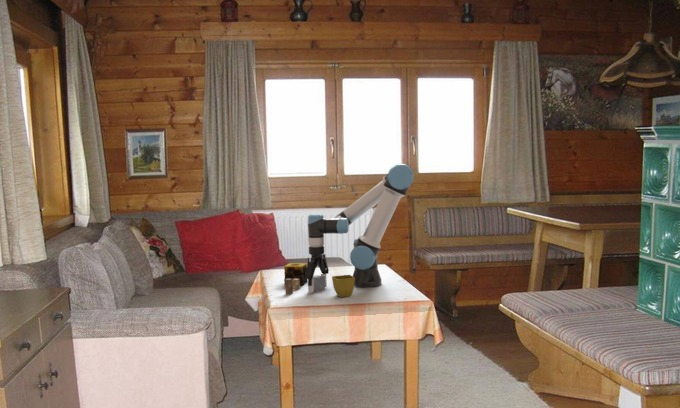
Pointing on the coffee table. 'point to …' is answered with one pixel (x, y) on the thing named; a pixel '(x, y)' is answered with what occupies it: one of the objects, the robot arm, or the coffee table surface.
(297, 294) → the coffee table surface
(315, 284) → the grey matte cube
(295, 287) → the oak post
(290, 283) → the walnut post
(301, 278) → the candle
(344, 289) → the flower pot
